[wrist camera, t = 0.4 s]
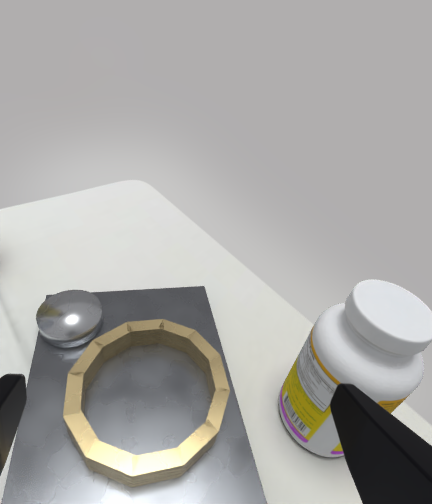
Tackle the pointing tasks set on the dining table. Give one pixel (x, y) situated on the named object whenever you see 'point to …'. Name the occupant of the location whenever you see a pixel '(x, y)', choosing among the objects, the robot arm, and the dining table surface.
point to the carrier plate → (130, 405)
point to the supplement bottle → (356, 360)
